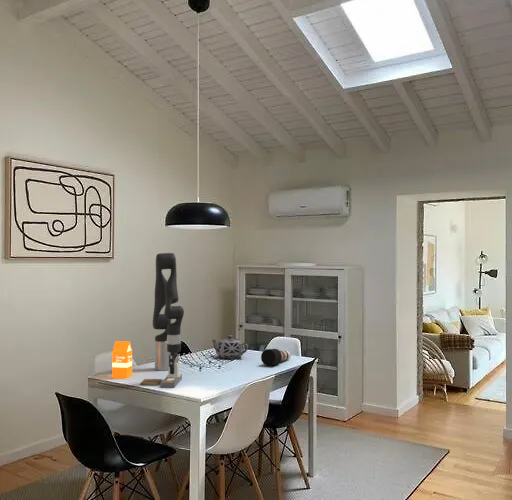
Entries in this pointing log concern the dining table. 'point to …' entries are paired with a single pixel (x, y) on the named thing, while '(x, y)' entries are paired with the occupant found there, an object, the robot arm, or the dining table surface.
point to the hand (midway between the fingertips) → (173, 372)
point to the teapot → (229, 348)
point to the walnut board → (150, 382)
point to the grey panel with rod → (171, 381)
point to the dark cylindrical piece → (274, 356)
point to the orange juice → (122, 360)
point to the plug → (176, 370)
